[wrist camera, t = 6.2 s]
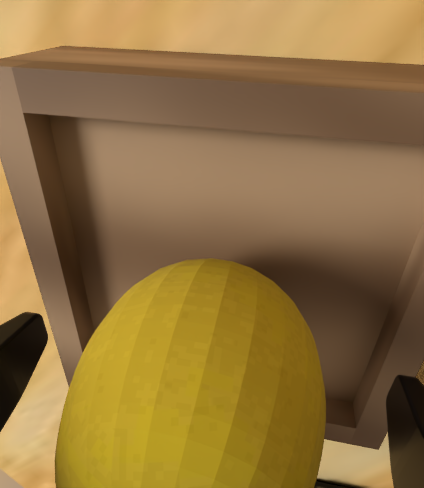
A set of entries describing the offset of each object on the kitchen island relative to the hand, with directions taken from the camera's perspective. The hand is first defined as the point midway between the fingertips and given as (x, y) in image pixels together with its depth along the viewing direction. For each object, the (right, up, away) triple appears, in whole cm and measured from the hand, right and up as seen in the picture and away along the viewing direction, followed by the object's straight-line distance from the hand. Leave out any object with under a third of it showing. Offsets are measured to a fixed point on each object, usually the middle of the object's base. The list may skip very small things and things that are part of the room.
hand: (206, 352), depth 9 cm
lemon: (+1, +2, +3) cm, 3 cm away
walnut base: (+1, +3, +5) cm, 6 cm away
